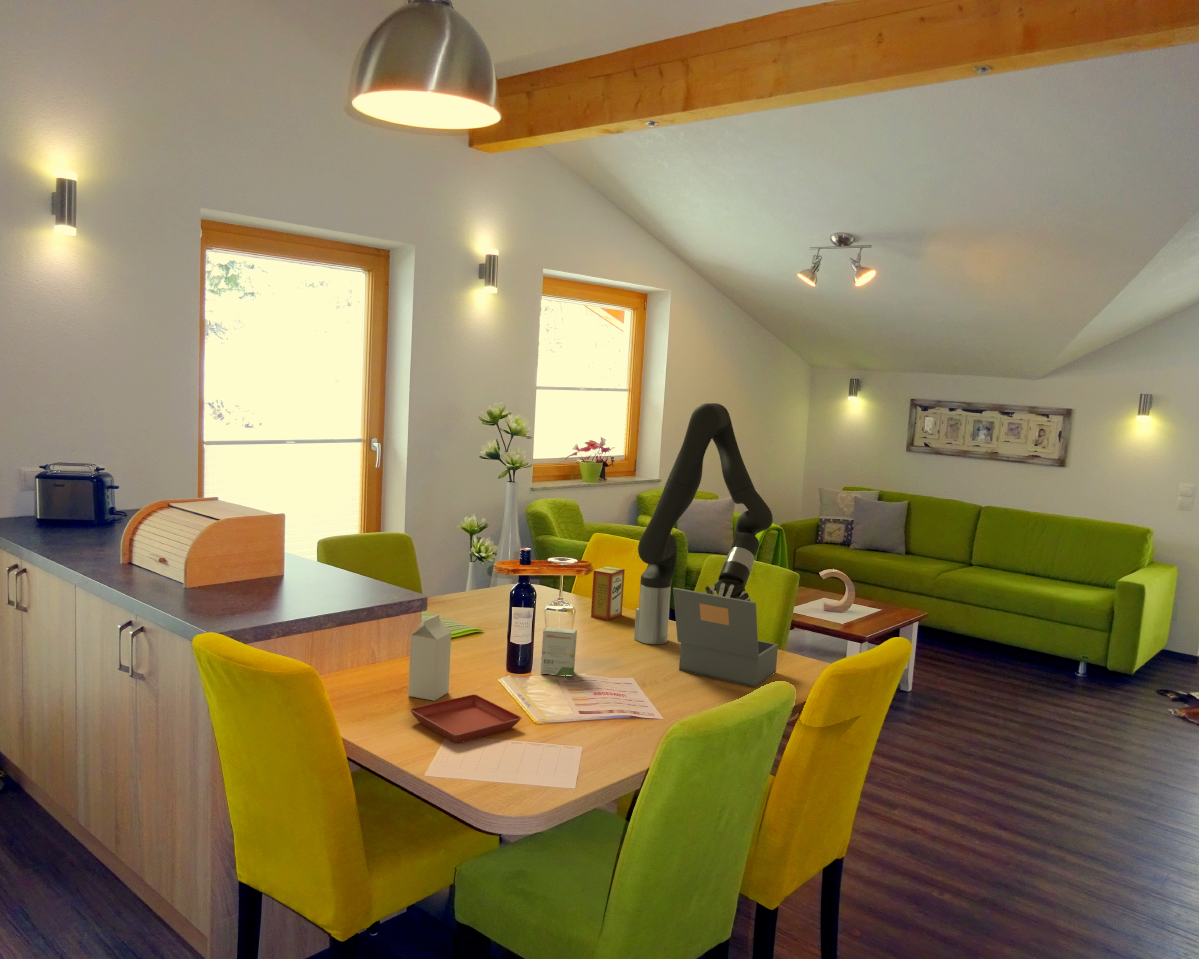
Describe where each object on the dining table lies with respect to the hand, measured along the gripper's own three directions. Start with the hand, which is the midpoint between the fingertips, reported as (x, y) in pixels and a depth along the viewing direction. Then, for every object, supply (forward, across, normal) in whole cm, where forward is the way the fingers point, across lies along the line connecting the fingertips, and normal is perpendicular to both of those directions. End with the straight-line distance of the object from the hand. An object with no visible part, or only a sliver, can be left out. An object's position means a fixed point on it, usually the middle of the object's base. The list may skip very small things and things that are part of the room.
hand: (717, 621), depth 244 cm
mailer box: (+4, 0, +19) cm, 20 cm away
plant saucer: (+57, -32, -35) cm, 74 cm away
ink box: (+26, -35, -4) cm, 44 cm away
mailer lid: (0, 0, 0) cm, 0 cm away
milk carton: (+50, -51, -28) cm, 76 cm away
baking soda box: (-16, -55, +40) cm, 70 cm away
